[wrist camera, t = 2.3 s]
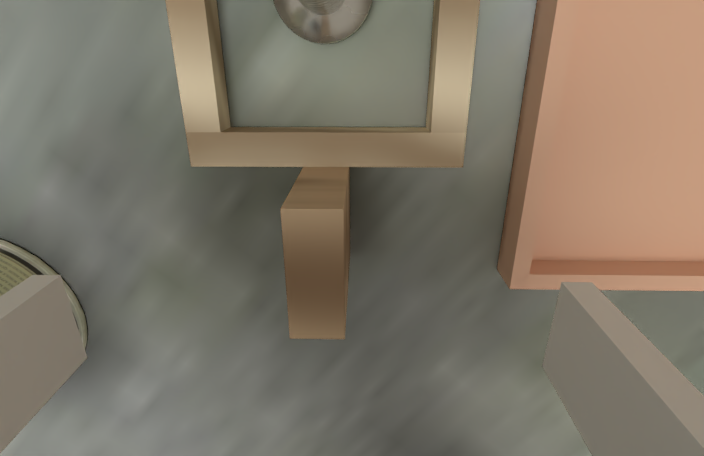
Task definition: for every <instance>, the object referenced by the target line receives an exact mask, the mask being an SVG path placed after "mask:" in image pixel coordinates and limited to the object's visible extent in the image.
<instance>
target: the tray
mask: <svg viewBox="0 0 704 456" xmlns="http://www.w3.org/2000/svg"><path fill="white" fill-rule="evenodd" d="M497 270H498V272H499V273H500V275H501V276H502V278H503V279H504V281H505V283H506V284H507V286H508V287H509V289H554V290H560V286H561V282H592V283H593V284H594V285H595V286H596V287H597V288H598V289H599V290H657V291H704V0H537V5H536V12H535V18H534V25H533V32H532V38H531V45H530V52H529V58H528V65H527V72H526V78H525V85H524V92H523V99H522V105H521V112H520V119H519V125H518V132H517V139H516V145H515V152H514V159H513V165H512V172H511V179H510V186H509V192H508V199H507V206H506V212H505V219H504V226H503V232H502V239H501V246H500V252H499V259H498V266H497Z"/></svg>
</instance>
